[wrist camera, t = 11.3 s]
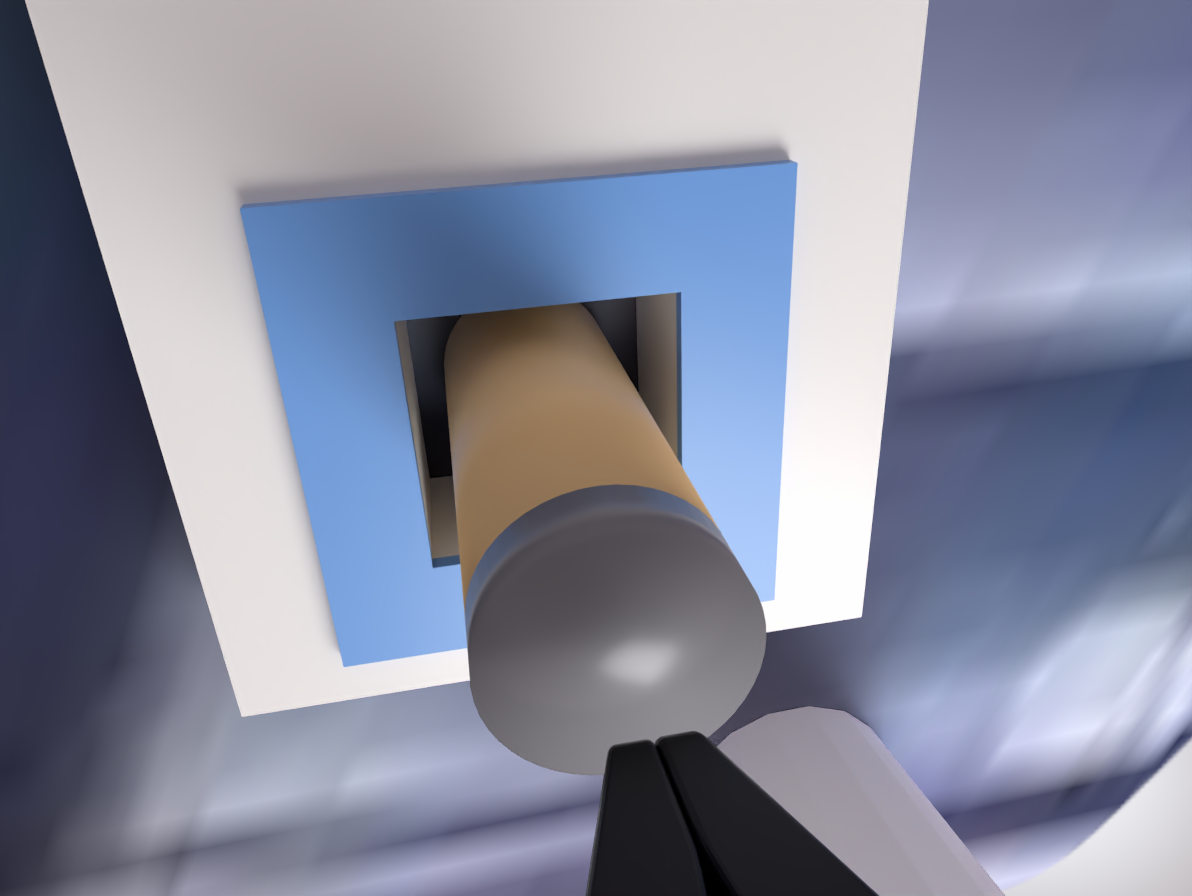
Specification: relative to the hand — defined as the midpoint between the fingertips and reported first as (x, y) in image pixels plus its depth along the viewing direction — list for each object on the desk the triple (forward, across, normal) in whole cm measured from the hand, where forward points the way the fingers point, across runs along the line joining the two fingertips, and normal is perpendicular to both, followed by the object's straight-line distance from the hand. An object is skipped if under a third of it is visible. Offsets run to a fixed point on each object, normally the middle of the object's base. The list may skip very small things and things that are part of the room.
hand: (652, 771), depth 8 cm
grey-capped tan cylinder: (+10, 0, 0) cm, 11 cm away
